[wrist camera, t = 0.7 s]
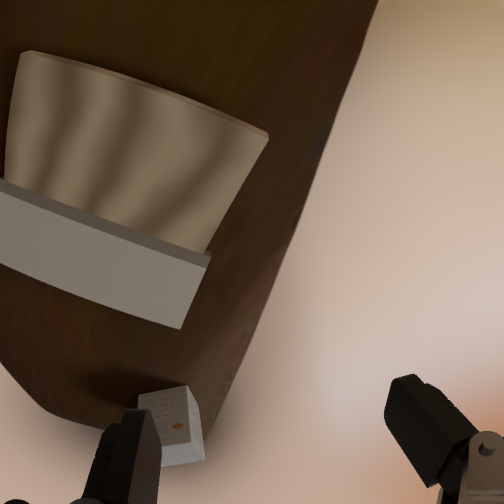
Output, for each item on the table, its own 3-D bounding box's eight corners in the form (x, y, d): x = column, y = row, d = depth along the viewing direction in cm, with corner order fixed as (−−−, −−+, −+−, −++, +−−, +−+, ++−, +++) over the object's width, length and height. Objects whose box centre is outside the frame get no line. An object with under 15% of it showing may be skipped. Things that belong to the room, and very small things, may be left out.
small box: (152, 414, 43) (152, 468, 34) (137, 393, 41) (133, 450, 31) (199, 405, 44) (206, 461, 35) (187, 383, 42) (191, 442, 32)
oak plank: (11, 173, 26) (4, 180, 25) (30, 50, 18) (20, 53, 17) (203, 244, 34) (202, 254, 33) (267, 132, 26) (268, 139, 25)
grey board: (-6, 252, 29) (-12, 257, 27) (5, 175, 26) (-2, 177, 24) (179, 321, 37) (179, 329, 36) (210, 251, 34) (211, 257, 33)
